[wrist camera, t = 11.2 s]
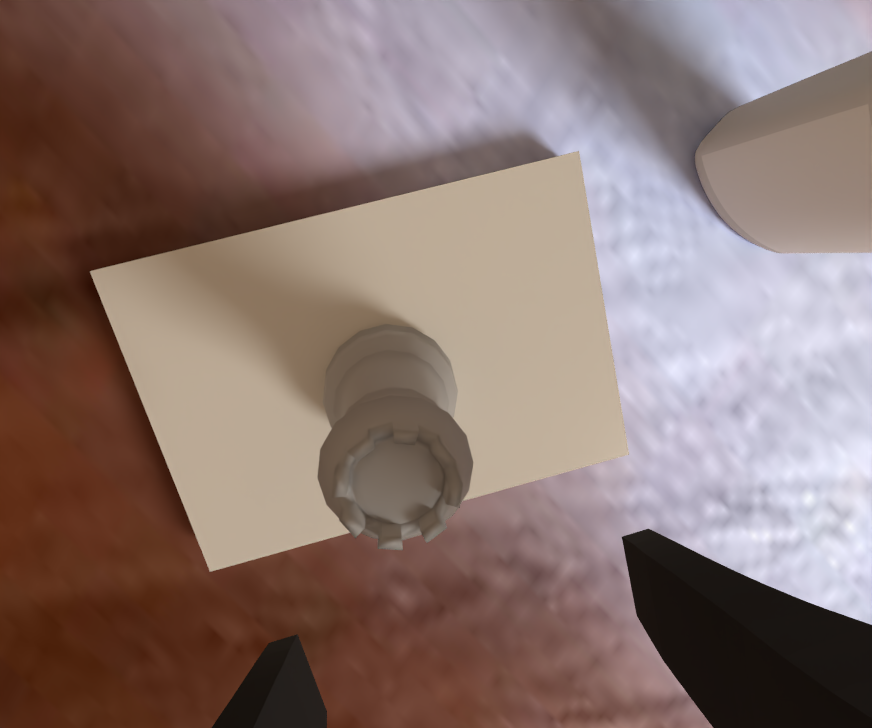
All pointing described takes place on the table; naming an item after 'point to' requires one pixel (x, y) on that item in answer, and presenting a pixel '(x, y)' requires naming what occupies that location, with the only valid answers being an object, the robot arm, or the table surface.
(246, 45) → the table surface
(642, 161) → the table surface
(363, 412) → the rook chess piece
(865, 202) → the eye dropper bottle
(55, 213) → the table surface
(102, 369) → the table surface
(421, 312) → the cream tile
